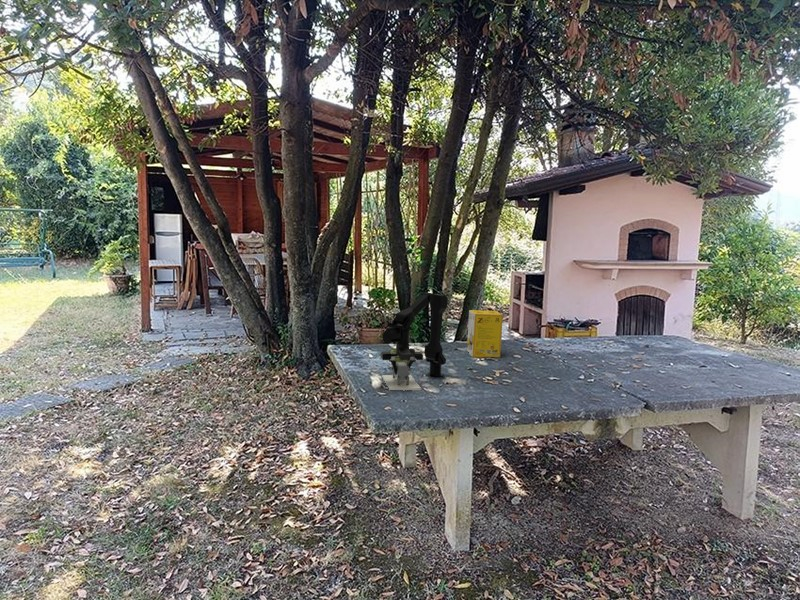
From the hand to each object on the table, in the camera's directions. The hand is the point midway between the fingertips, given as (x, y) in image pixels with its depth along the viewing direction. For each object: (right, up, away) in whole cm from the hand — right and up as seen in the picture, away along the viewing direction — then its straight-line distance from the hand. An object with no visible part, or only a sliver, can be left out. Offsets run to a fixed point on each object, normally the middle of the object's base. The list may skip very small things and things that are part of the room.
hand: (401, 374), depth 241 cm
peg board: (0, -4, 0) cm, 4 cm away
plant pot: (-1, -1, +29) cm, 29 cm away
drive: (0, -1, 0) cm, 1 cm away
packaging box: (+48, +2, +70) cm, 85 cm away
